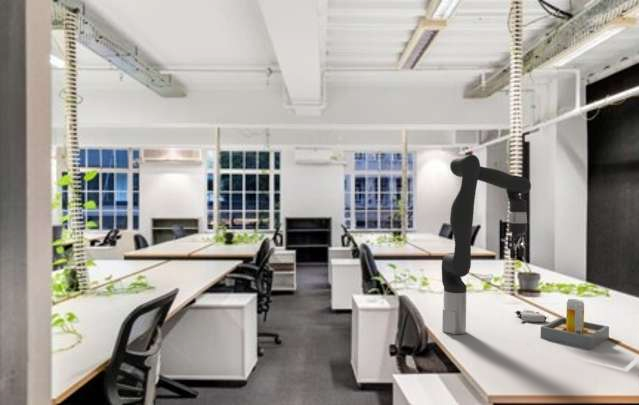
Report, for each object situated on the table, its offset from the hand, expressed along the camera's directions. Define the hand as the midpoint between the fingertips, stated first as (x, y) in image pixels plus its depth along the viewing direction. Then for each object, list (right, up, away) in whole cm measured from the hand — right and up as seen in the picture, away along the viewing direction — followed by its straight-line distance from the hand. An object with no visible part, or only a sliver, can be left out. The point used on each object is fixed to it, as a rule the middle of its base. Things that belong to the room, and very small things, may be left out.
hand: (517, 257), depth 200 cm
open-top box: (+13, -31, -22) cm, 40 cm away
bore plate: (+13, -30, -22) cm, 39 cm away
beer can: (+13, -30, -22) cm, 39 cm away
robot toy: (+9, -31, +6) cm, 32 cm away
